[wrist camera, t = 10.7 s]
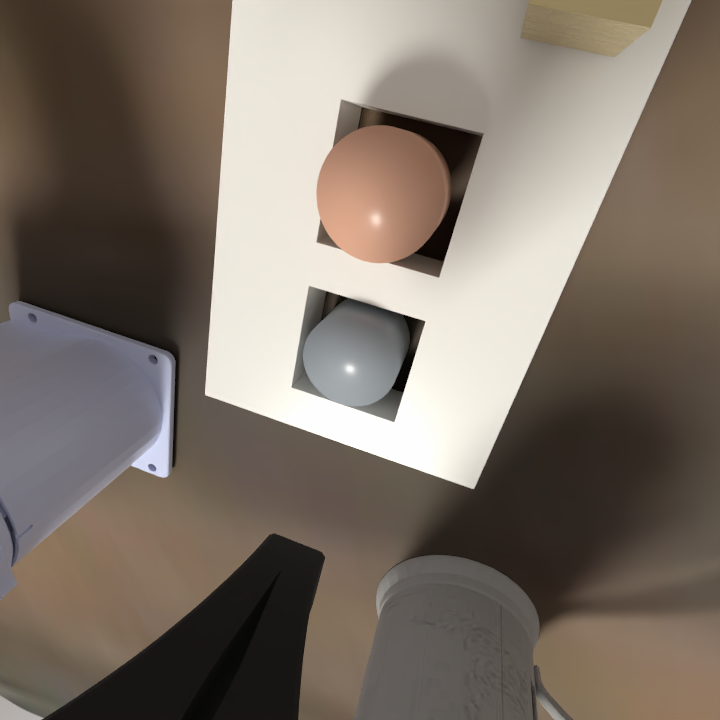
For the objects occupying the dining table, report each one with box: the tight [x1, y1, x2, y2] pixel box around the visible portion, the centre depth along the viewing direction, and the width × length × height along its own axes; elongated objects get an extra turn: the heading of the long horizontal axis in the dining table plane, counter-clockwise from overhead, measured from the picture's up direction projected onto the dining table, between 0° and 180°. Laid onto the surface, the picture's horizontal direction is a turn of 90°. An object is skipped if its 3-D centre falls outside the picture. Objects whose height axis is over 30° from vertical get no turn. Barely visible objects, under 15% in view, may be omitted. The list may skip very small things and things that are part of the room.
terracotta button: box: [316, 125, 452, 263], centre depth 14 cm, size 4×4×3 cm
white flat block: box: [205, 0, 691, 489], centre depth 15 cm, size 12×20×3 cm, turn 167°
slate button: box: [303, 298, 410, 406], centre depth 18 cm, size 4×4×3 cm
